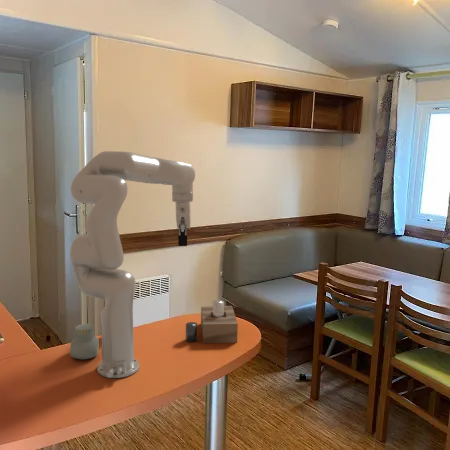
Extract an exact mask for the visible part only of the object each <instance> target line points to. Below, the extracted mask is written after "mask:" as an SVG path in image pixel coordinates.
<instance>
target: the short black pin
mask: <svg viewBox="0 0 450 450" xmlns="http://www.w3.org/2000/svg"><path fill="white" fill-rule="evenodd" d="M185 341H186V342H187V343H190V344H191V343H196V342H197V341H198V323H197V322H196V321H195V322H194V321H190V322H187V323H185Z"/></svg>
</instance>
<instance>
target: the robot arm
mask: <svg viewBox="0 0 450 450" xmlns="http://www.w3.org/2000/svg"><path fill="white" fill-rule="evenodd" d="M195 171H196V170H195V169H194V167H193V165H192V164H191V163H186V162H181V161H176V160H170V159H165V158H164V159H163V158H160V157H153V156H148V155H143V154H139V153H135V152H130V151H114V150H113V151H112V150H111V151H110V150H108V151H107V150H104V151H102V152H100V153H98V154H97V155H95V156H94V157H93V158H92V159H91V160H90V161H89V162H88V163H86V165H85V166H84V167H83V168H82V169H81V170H80V171H79V172H78V173H77V174H76V175H75V177H74V178H73V180H72V182H71V185H70V191H71V195H72V198H73V199H74V200H75V201H76V202H78V203H81V204H87V205H89V204H90V205H93V207H92V209H91V210H90V212H89V213H88V215H87V218H86V221H85V229H86V234H81V235H79V236H77V237H76V238H74V240H73V242H72V243H71V246H70V252H69V257H70V261H71V265H72V268H73V272H74V275H75V276H74V277H75V278H76V281H77V285H78V288H79V290H80V291H81V292H82V294H83V295H85V296H87V297H90V298H94V299H101V300H104V301H106V304H105V305H104V307H103V308H102V310H101V313H100V333H101V335H100V337H101V361H100V362H99V363H98V365H97V369H96V370H97V374H99V375H100V376H102V377H104V378H108V379H121V378H126V377H129V376H131V375H133V374H135V373H136V372H138V370H139V369H140V363H139V360H137V359H136V358H135V355H134V354H135V353H134V352H135V351H134V350H135V349H134V346H135V345H134V298H135V294H136V286H137V282H136V278H135V276H134V275H133V274H132V273H131V272H129V271H126V270H124V269H119V268H120V267H121V266H122V265H123V262H124V259H125V258H124V250H123V245H122V241H121V237H120V233H119V229H118V227H119V226H118V223H117V222H118V215H119V213H120V211H121V208H122V206H123V204H124V202H125V200H126V198H127V195H128V185H127V182H126V181H128V182H135V183H136V182H137V183H143V184H153V185H165V186H171V190H172V191H171V195H172V196H171V197H172V199H171V201H172V202H173V203H175V221H176V223H175V224H176V229H177V232H178V237H177V238H178V239H177V242H178V243H177V244H178V247H187V246H188V230H190V229H191V203H193V201H194V198H193V197H194V194H193V193H194V185H193V184H194V182H195V178H196V172H195ZM187 229H188V230H187Z"/></svg>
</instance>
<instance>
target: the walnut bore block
mask: <svg viewBox="0 0 450 450" xmlns="http://www.w3.org/2000/svg"><path fill="white" fill-rule="evenodd" d="M200 325H201V326H200V327H201V336H202V344H224V343H230V344H231V343H238V320H237V317H236V314H235V311H234V308H233V305H224V317H217V318H213V305H212V306H211V305H210V306H205V305H204V306H200Z"/></svg>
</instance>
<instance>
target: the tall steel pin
mask: <svg viewBox="0 0 450 450" xmlns="http://www.w3.org/2000/svg"><path fill="white" fill-rule="evenodd" d="M212 306H213V318H217V317H224V306H225V301H224V300H221V299H215V300H213V301H212Z"/></svg>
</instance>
